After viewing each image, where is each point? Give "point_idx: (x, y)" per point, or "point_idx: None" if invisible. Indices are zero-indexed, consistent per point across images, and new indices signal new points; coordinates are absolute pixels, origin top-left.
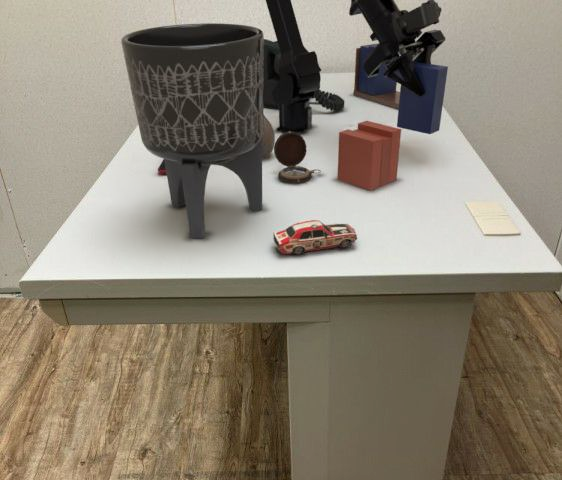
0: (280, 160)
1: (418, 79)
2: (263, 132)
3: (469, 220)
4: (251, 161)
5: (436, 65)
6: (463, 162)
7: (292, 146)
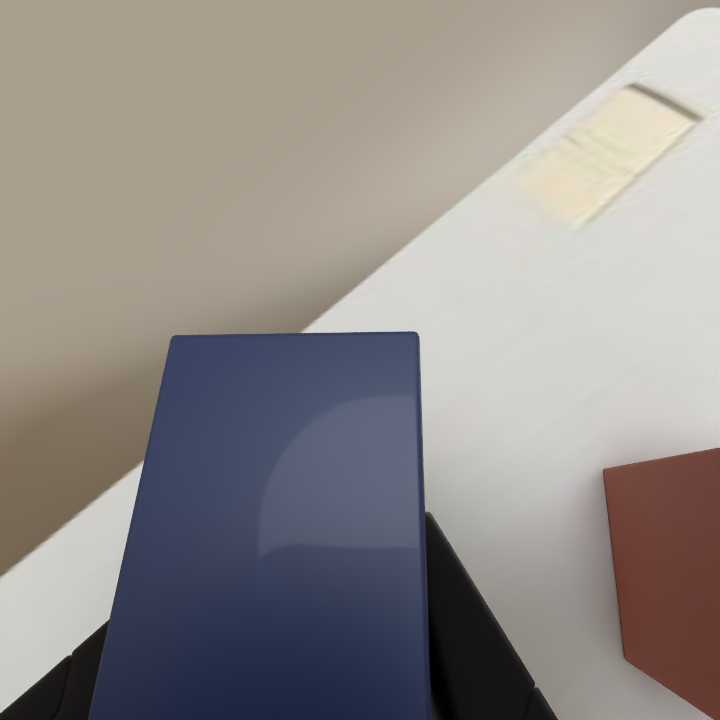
0: None
1: (460, 624)
2: None
3: (662, 171)
4: None
5: (170, 508)
6: None
7: None
